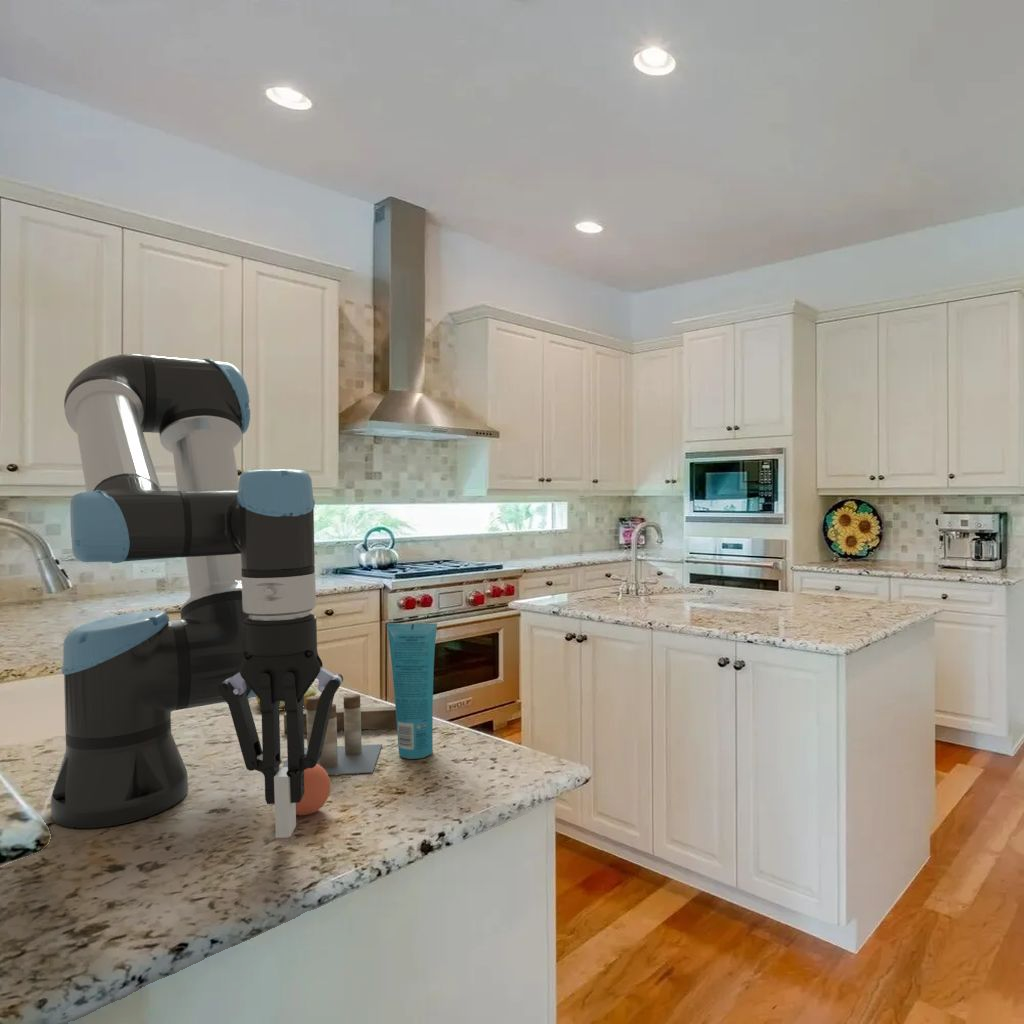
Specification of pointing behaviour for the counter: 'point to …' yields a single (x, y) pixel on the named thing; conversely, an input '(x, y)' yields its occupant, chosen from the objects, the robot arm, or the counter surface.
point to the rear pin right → (311, 714)
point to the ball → (314, 790)
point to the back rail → (363, 718)
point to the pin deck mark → (353, 760)
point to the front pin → (330, 742)
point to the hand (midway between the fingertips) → (286, 831)
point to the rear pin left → (352, 724)
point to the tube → (413, 686)
